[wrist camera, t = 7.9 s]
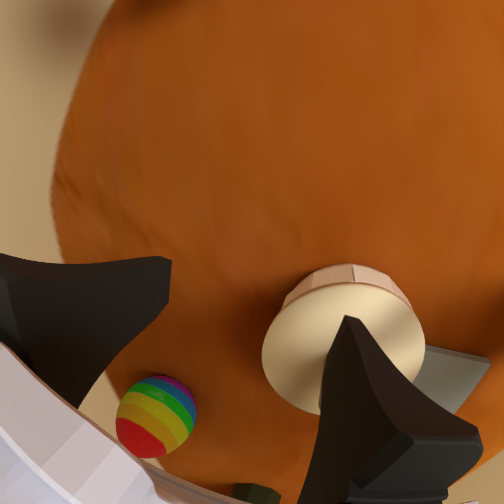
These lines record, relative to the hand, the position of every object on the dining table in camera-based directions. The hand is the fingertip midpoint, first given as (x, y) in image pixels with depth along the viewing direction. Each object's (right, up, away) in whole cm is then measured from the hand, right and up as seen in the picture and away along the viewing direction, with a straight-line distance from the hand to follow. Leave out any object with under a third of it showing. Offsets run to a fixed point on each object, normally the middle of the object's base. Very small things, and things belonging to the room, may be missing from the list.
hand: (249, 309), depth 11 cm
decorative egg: (-9, -14, +18) cm, 25 cm away
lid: (+6, -5, +6) cm, 10 cm away
